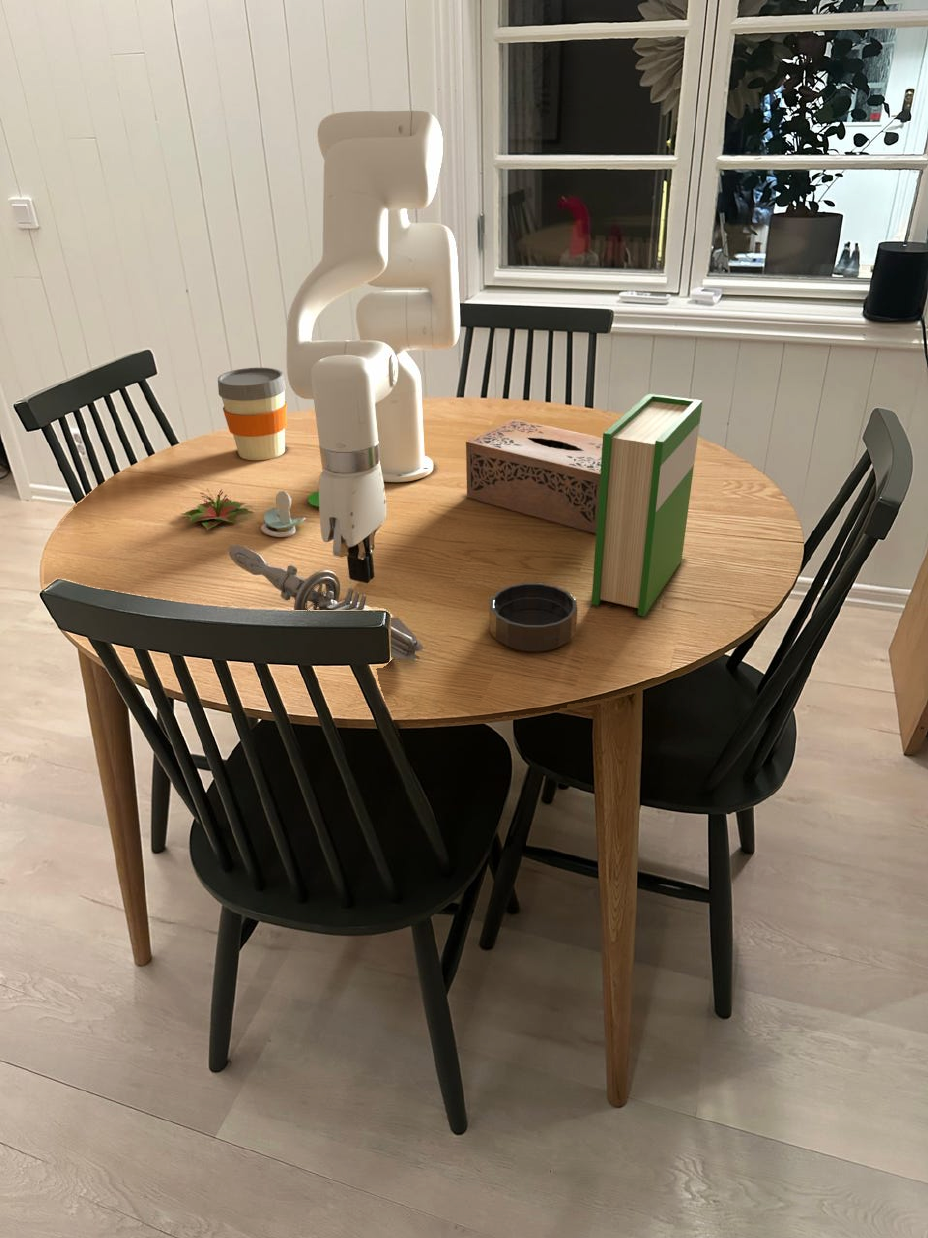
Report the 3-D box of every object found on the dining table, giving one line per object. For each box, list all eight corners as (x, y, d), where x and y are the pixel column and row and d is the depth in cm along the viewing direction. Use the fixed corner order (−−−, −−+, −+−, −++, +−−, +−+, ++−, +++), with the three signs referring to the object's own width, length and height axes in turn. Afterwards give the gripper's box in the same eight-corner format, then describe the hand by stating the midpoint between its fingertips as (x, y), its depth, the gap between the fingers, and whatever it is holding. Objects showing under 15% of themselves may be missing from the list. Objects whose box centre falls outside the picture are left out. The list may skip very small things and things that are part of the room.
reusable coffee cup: (307, 447, 168) (297, 372, 161) (262, 468, 160) (250, 389, 152) (261, 437, 174) (250, 363, 166) (216, 456, 165) (201, 379, 158)
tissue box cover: (466, 497, 146) (465, 441, 141) (513, 471, 156) (514, 418, 150) (597, 534, 133) (602, 474, 127) (640, 503, 142) (645, 446, 137)
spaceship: (256, 523, 120) (211, 522, 113) (446, 621, 103) (407, 627, 97) (244, 574, 122) (199, 577, 116) (428, 679, 106) (389, 688, 99)
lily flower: (268, 516, 141) (264, 490, 138) (204, 539, 134) (199, 513, 131) (230, 496, 148) (226, 472, 146) (167, 517, 141) (162, 492, 139)
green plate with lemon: (303, 496, 148) (301, 481, 146) (347, 488, 150) (345, 473, 149) (314, 513, 141) (312, 498, 140) (360, 505, 144) (359, 490, 142)
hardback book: (644, 616, 111) (663, 442, 99) (591, 604, 114) (603, 433, 102) (681, 560, 125) (702, 400, 112) (633, 550, 128) (648, 393, 115)
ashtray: (476, 642, 107) (475, 615, 105) (509, 602, 115) (510, 576, 113) (558, 662, 103) (559, 634, 101) (586, 618, 111) (588, 592, 109)
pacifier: (285, 543, 132) (311, 528, 137) (279, 507, 129) (306, 492, 133) (252, 532, 136) (279, 518, 140) (245, 497, 133) (273, 483, 137)
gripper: (355, 432, 116) (366, 551, 126) (292, 472, 105) (309, 598, 115) (403, 440, 113) (410, 560, 123) (343, 481, 102) (357, 610, 112)
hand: (362, 578), depth 119 cm, fingers closed
